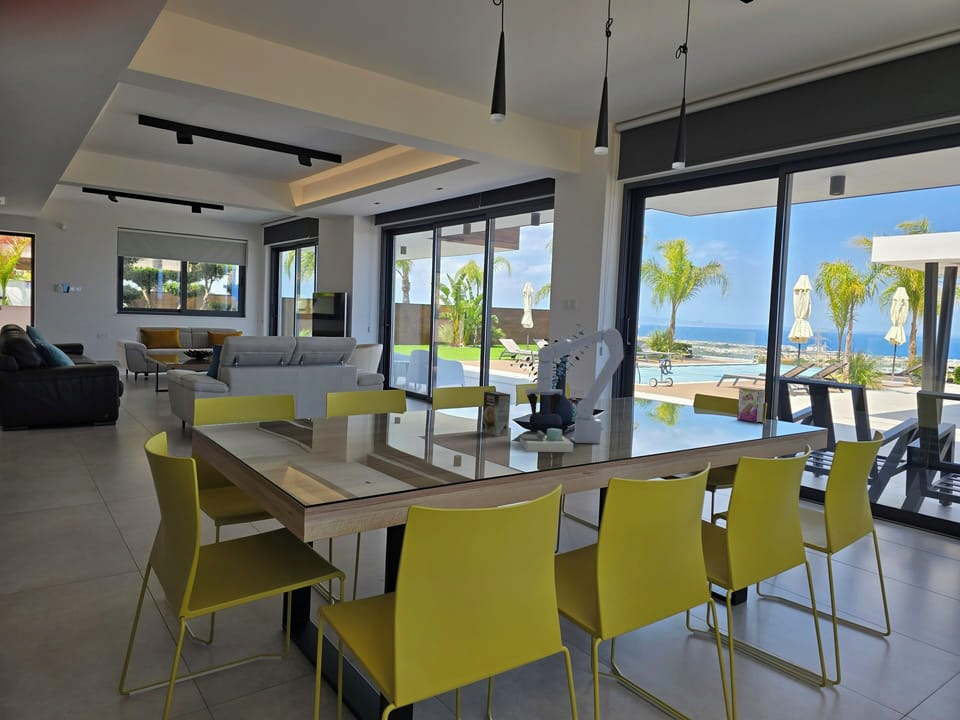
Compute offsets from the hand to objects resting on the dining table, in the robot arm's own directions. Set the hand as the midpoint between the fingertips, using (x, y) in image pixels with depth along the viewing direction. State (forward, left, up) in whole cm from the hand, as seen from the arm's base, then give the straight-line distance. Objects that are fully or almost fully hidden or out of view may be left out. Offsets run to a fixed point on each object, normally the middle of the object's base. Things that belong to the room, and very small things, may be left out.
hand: (543, 413), depth 239 cm
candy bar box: (-117, -57, -10) cm, 131 cm away
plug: (0, +18, -9) cm, 20 cm away
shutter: (+8, +18, -6) cm, 21 cm away
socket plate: (+2, +18, -9) cm, 20 cm away
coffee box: (+17, -7, -10) cm, 21 cm away
